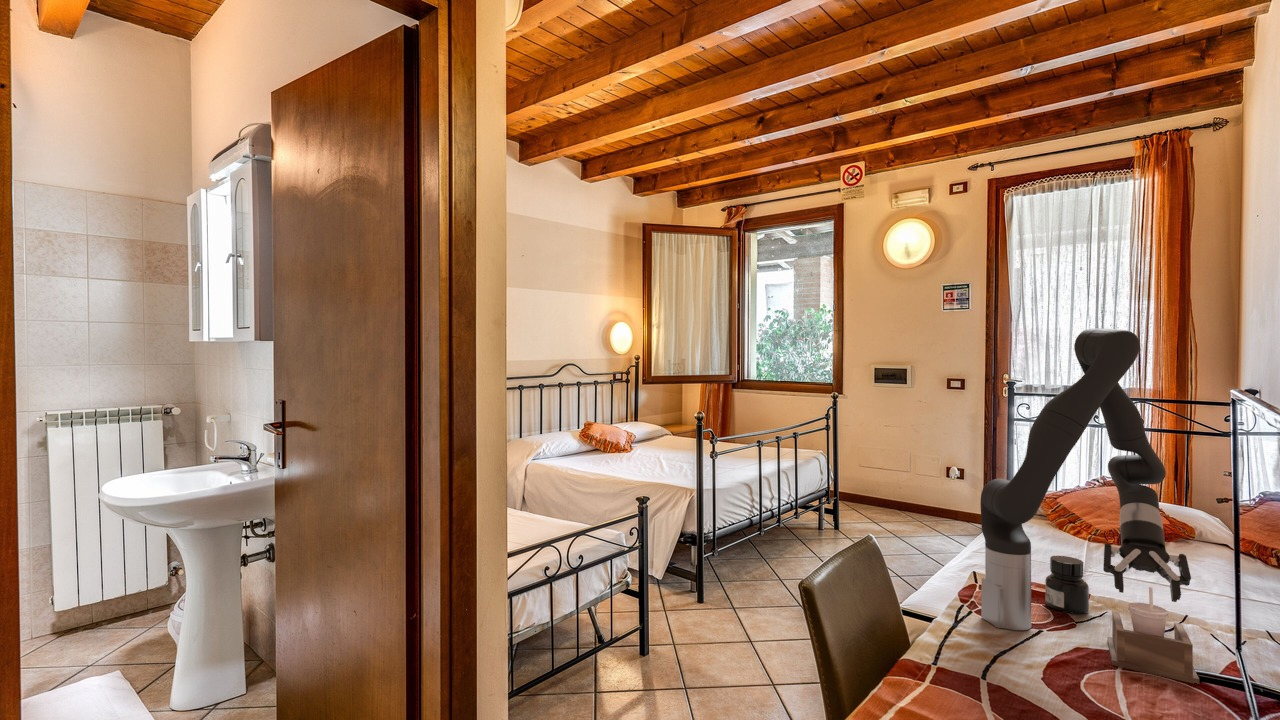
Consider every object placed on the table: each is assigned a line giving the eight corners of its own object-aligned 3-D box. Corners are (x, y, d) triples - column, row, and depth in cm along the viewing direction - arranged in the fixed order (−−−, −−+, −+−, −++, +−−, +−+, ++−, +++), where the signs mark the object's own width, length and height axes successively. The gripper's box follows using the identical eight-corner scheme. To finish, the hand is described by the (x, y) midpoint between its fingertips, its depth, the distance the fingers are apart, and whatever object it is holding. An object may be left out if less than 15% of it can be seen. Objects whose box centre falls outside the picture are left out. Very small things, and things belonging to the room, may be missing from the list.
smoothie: (1160, 665, 119) (1159, 594, 119) (1122, 652, 125) (1121, 584, 125) (1175, 658, 122) (1174, 589, 122) (1137, 646, 128) (1136, 579, 128)
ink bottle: (1041, 598, 156) (1041, 552, 157) (1081, 603, 153) (1081, 556, 153) (1051, 612, 147) (1050, 563, 148) (1094, 618, 144) (1094, 568, 144)
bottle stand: (1107, 641, 132) (1107, 609, 132) (1186, 657, 125) (1186, 623, 125) (1112, 665, 121) (1112, 630, 121) (1199, 684, 114) (1199, 647, 114)
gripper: (1102, 514, 137) (1105, 579, 127) (1185, 524, 129) (1196, 594, 119) (1100, 532, 141) (1103, 596, 132) (1181, 543, 133) (1191, 612, 124)
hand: (1147, 595), depth 126 cm, fingers open, 8 cm apart
